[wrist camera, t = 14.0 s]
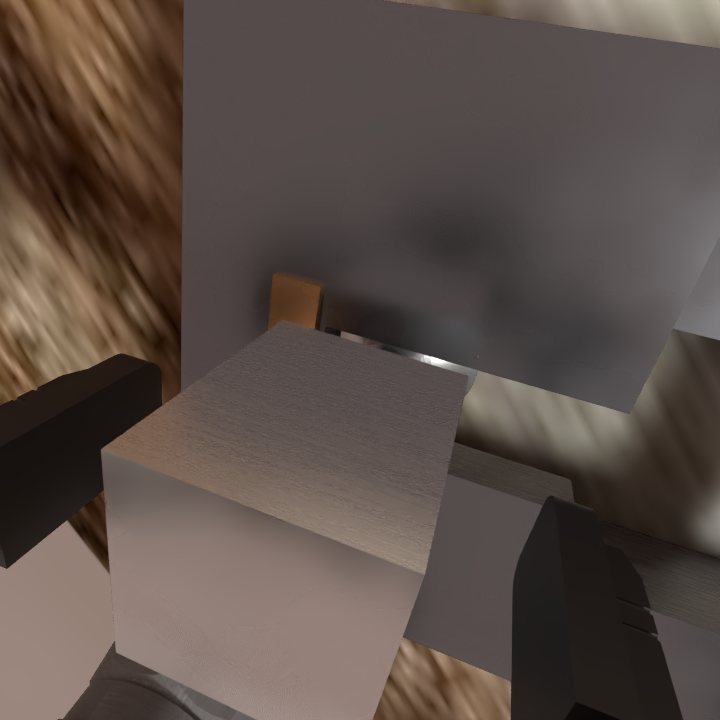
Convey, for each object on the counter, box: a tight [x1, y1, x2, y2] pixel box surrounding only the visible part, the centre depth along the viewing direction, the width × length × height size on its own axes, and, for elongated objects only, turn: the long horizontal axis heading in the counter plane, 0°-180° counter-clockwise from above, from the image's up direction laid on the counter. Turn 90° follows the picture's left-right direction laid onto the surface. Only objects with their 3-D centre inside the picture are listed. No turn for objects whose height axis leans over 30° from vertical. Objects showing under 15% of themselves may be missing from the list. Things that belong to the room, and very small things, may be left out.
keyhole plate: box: [181, 0, 720, 720], centre depth 13 cm, size 20×16×5 cm
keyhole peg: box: [101, 320, 478, 720], centre depth 11 cm, size 5×5×12 cm
